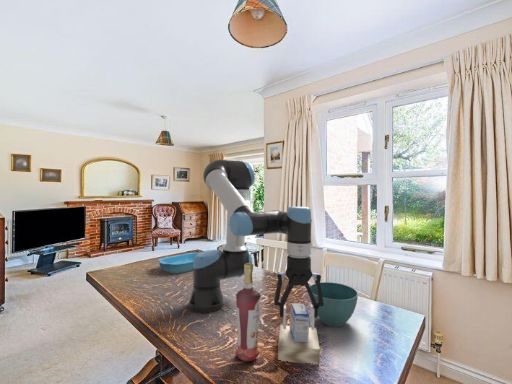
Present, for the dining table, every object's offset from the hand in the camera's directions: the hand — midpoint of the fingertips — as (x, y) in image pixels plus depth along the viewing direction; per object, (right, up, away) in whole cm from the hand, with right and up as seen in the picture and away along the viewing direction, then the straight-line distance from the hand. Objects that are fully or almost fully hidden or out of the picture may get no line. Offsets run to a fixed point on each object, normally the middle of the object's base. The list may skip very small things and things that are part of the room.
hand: (298, 327), depth 81 cm
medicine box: (0, -3, 0) cm, 3 cm away
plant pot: (+16, -8, +19) cm, 26 cm away
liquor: (-16, -7, -4) cm, 18 cm away
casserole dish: (-60, -8, +90) cm, 108 cm away
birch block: (0, -8, 0) cm, 8 cm away
